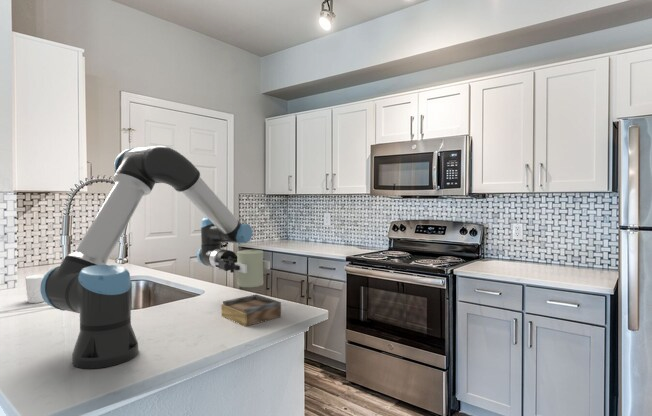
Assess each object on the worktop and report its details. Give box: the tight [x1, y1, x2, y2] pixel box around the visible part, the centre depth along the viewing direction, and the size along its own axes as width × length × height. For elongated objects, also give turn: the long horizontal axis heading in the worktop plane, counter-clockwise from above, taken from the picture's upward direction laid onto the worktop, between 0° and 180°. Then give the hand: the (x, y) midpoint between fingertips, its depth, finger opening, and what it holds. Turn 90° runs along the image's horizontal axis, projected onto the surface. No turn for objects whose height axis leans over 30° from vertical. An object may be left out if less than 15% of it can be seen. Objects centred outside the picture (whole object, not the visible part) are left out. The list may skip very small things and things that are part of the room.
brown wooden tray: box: [221, 294, 282, 327], centre depth 137 cm, size 15×15×5 cm
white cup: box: [25, 273, 46, 304], centre depth 156 cm, size 8×8×10 cm
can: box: [236, 249, 264, 288], centre depth 137 cm, size 9×9×12 cm
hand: (258, 267), depth 133 cm, fingers closed on can, 9 cm apart
